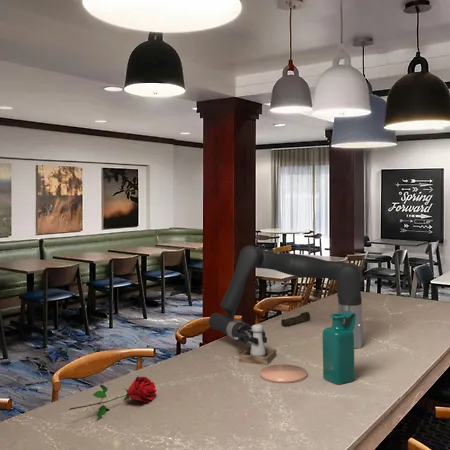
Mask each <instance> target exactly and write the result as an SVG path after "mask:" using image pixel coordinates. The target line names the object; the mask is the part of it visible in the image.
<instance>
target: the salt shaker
mask: <svg viewBox="0 0 450 450" xmlns="http://www.w3.org/2000/svg"><path fill="white" fill-rule="evenodd" d="M251 328H252V331H253V337H255V338H258V344H257V345H256V344H254V343H250V344H251V345H250V347H251V351H250V354H251V356H261V357H266V356H265V354H266V351H265V349H266V348H265V343H263V337H262V331H263V330H264V326H263V325H262V324H260V323H259V324H258V323H257V324H253V325H252V326H251Z"/></svg>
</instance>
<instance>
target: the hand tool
mask: <svg viewBox="0 0 450 450" xmlns="http://www.w3.org/2000/svg"><path fill="white" fill-rule="evenodd" d="M310 320H311V314H310V312H309V311H305V312H300V314H298V315H297V316H292V317H288V318H282V319H281V320H280V323H281V324H280V325H281V326H282V327H284V328H287V327H290V326H292V325H295V324H299V323H306V322H309V321H310Z"/></svg>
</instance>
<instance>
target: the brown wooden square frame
mask: <svg viewBox="0 0 450 450" xmlns="http://www.w3.org/2000/svg"><path fill="white" fill-rule="evenodd" d="M250 351H251V346H249V347H247V348H246V349H245V350H244V351H243V352H242V353H241V352H240V354H239V355H238V358H239V359H238V361H239V363H248V364H256V365H266V366H269V364H270V363H271V362H272V361H273V360H274V359H275V358H276V357H277V349H276V348H275V349H273V348H265V351H266V354H265V356H264V357H261V356H251V354H250Z"/></svg>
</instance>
